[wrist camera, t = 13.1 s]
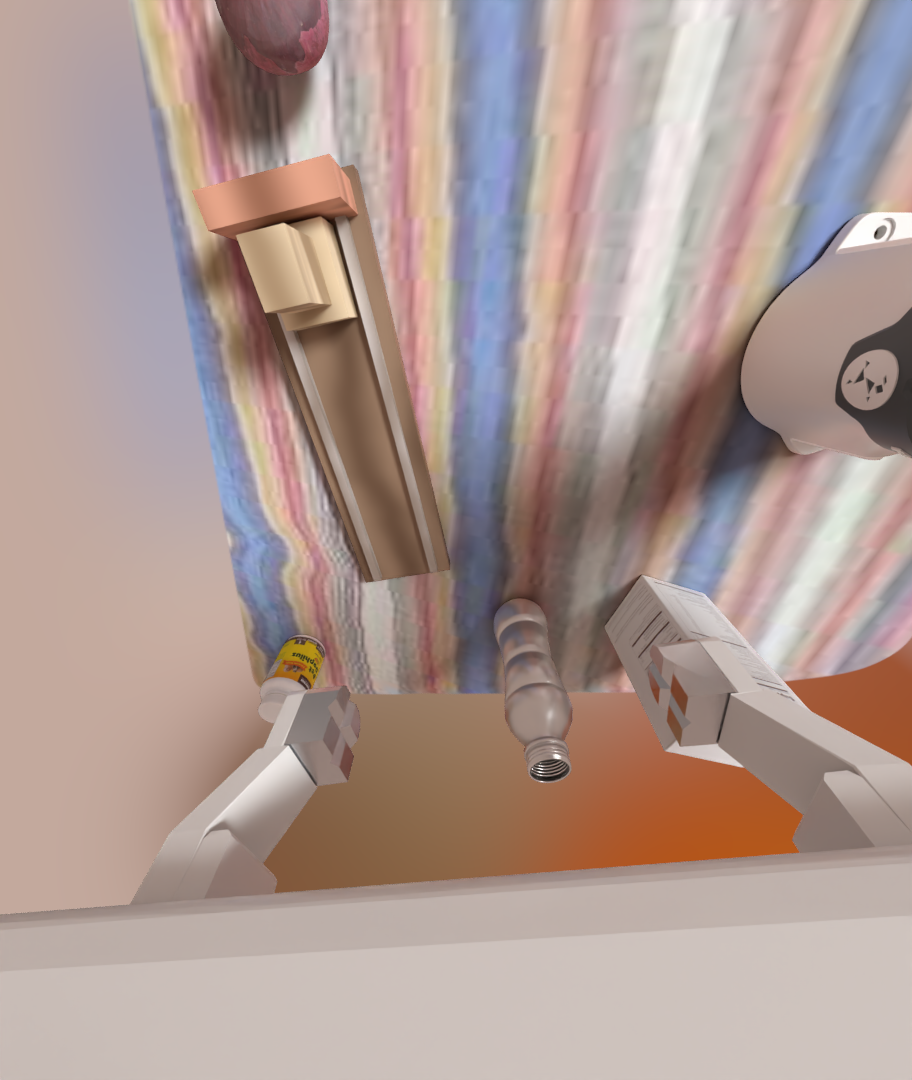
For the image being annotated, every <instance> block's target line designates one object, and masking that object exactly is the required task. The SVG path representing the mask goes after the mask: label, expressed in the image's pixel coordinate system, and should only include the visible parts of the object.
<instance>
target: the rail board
mask: <svg viewBox="0 0 912 1080" xmlns="http://www.w3.org/2000/svg"><path fill="white" fill-rule="evenodd" d="M192 192H193V194H194V197H195V199H196V201H197V204H198V206H199V209H200V211H201V214H202V216H203V219H204V221H205V224H206V226H207V229H208V231H211V232H214V233H216V234H219V235H222V236H225V237H228V238H231V239H234V240H237V237H236V235H238V234H242V233H246V232H250V231H254V230H258V229H262V228H266V227H270V226H274V225H278V224H282V223H285V224H287V225H289V224H293V223H297V222H300V221H304V220H308V219H312V218H316V217H320V216H321V217H322V218H323V219H325V220H326V221H328V222H329V223H330V224H332V225H333V227H334V231H335V234H336V238H337V242H338V245H339V249H340V253H341V256H342V260H343V264H344V267H345V271H346V275H347V278H348V282H349V286H350V289H351V293H352V297H353V300H354V304H355V308H356V311H357V315H358V317H356V318H352V319H348V320H343V321H339V322H334V323H330V324H325V325H321V326H316V327H312V328H307V329H303V330H295V331H286V328H285V325H284V322H283V320H282V317H281V314H280V313H265V311H264V313H265V316H266V318H267V321H268V323H269V326H270V329H271V331H272V334H273V337H274V339H275V342H276V345H277V347H278V350H279V353H280V355H281V358H282V361H283V363H284V366H285V369H286V371H287V374H288V377H289V379H290V382H291V384H292V387H293V390H294V392H295V395H296V398H297V400H298V403H299V406H300V408H301V411H302V414H303V416H304V419H305V422H306V424H307V427H308V430H309V432H310V435H311V438H312V440H313V443H314V446H315V448H316V451H317V453H318V456H319V459H320V461H321V464H322V467H323V469H324V472H325V475H326V477H327V480H328V483H329V485H330V488H331V491H332V493H333V496H334V499H335V501H336V504H337V507H338V509H339V512H340V514H341V517H342V520H343V522H344V525H345V528H346V530H347V533H348V536H349V538H350V541H351V544H352V546H353V549H354V552H355V554H356V557H357V560H358V562H359V565H360V568H361V570H362V573H363V576H364V578H365V581H366V583H367V582H373V581H374V582H375V581H381V580H386V579H392V578H399V577H405V576H412V575H418V574H425V573H433V572H438V571H444V570H450V560H449V556H448V552H447V547H446V543H445V539H444V535H443V530H442V526H441V522H440V518H439V513H438V509H437V505H436V501H435V497H434V492H433V488H432V484H431V480H430V475H429V471H428V467H427V463H426V458H425V454H424V450H423V446H422V441H421V437H420V433H419V429H418V424H417V420H416V416H415V412H414V407H413V403H412V399H411V395H410V390H409V386H408V382H407V378H406V373H405V369H404V365H403V361H402V356H401V352H400V348H399V344H398V339H397V335H396V331H395V327H394V322H393V318H392V314H391V310H390V306H389V301H388V297H387V293H386V289H385V284H384V280H383V276H382V272H381V267H380V263H379V259H378V255H377V250H376V246H375V242H374V238H373V233H372V229H371V225H370V221H369V216H368V212H367V208H366V204H365V199H364V195H363V191H362V187H361V182H360V178H359V174H358V171H357V169H356V168H355V167H354V165H350V166H346V167H342V168H340V167H339V165H338V164H337V163H336V162H335V160H334V159H333V158H332V157H331V155H330V154H327V155H323V156H320V157H316V158H312V159H309V160H305V161H301V162H297V163H294V164H290V165H286V166H283V167H279V168H275V169H271V170H268V171H264V172H260V173H257V174H253V175H249V176H245V177H242V178H238V179H234V180H230V181H227V182H223V183H219V184H216V185H212V186H208V187H204V188H201V189H197V190H193V191H192ZM237 241H238V240H237ZM238 244H239V242H238ZM239 247H240V245H239ZM240 249H241V248H240ZM241 252H242V250H241ZM242 254H243V253H242ZM243 257H244V256H243ZM244 260H245V258H244ZM245 262H246V261H245ZM246 265H247V264H246ZM247 268H248V266H247ZM248 270H249V269H248ZM249 273H250V272H249ZM250 276H251V274H250ZM251 278H252V277H251ZM252 281H253V280H252ZM253 284H254V282H253ZM254 286H255V285H254ZM255 289H256V288H255ZM256 292H257V290H256ZM257 294H258V293H257ZM258 297H259V296H258ZM259 300H260V298H259ZM260 302H261V301H260ZM261 305H262V304H261ZM262 308H263V306H262ZM263 310H264V309H263Z"/></svg>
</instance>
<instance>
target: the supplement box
mask: <svg viewBox="0 0 912 1080" xmlns="http://www.w3.org/2000/svg"><path fill="white" fill-rule="evenodd" d="M604 628H605V630H606V632H607V634H608V636H609V638H610V640H611V642H612V644H613V646H614V648H615V651H616V653H617V655H618V657H619V659H620V661H621V663H622V665H623V667H624V669H625V671H626V673H627V675H628V677H629V679H630V681H631V683H632V685H633V687H634V689H635V691H636V693H637V695H638V697H639V699H640V701H641V704H642V706H643V708H644V710H645V712H646V714H647V716H648V718H649V720H650V722H651V724H652V726H653V728H654V730H655V732H656V735H657V737H658V738H659V741H660V743H661V745H662V747H663V749H664V750H665V751H667V752H672V753H677V754H682V755H687V756H691V757H696V758H701V759H705V760H710V761H715V762H720V763H724V764H729V765H734V766H738V767H743V766H742V765H741V764H740V763H738V762H737V761H736V760H735V759H733V758H732V757H731V756H730V755H728V754H727V753H726V752H725V751H724V750H722V749H721V748H720V747H719V746H718V744H711V745H698V746H685V747H680V746H679V744H678V742H677V740H676V738H675V736H674V734H673V732H672V731H671V729H670V727H669V725H668V723H667V714H668V711H666V710H665V709H663V708H662V707H660V706H659V705H658V704H657V702H656V700H655V698H654V695H653V693H652V690H651V687H650V682H649V667H650V666H651V665H652V664H653V663H654V662H653V660H652V658H651V657H650V650H651V647H652V645H655V644H662V643H669V642H676V641H683V640H690V639H692V640H694V639H699V638H707V637H714V636H716V637H718V638H719V639H721V640H722V642H723V643H724V644H725V645H726V647H727V648H728V649H729V650H730V651H731V653H732V654H733V655H734V656H735V657H736V659H737V660H738V661H739V662H740V663H741V665H742V666H743V667H744V668H745V669H746V671H747V672H748V673H749V674H750V675H751V677H752V678H753V679H754V680H755V681H756V683H757V684H758V685H759V686H760V688H761V689H762V690H768V689H770V690H772V691H773V692H775V693H777V694H779V695H781V696H783V697H785V698H787V699H789V700H790V701H792V702H794V703H796V704H798V705H800V706H802V707H804V708H805V709H807V710H809V709H808V708H807V707H806V706H805V705H804V704H803V703H802V701H801V700H800V699H799V698H798V697H797V696H796V695H795V694H794V693H793V691H792V690H791V689H790V688H789V687H788V686H787V685H786V684H785V682H784V681H783V680H782V679H781V678H780V677H779V676H778V675H777V674H776V673H775V671H774V670H773V669H772V668H771V667H770V666H769V665H768V664H767V663H766V662H765V661H764V660H763V659H762V657H761V656H760V655H759V654H758V653H757V652H756V651H755V650H754V649H753V648H752V647H751V646H750V644H749V643H748V642H747V641H746V639H745V638H744V637H743V636H742V635H741V634H740V633H739V632H738V630H737V629H736V628H735V627H734V626H733V625H732V624H731V623H730V622H729V620H728V619H727V618H726V617H725V616H724V615H723V614H722V613H721V612H720V611H719V609H718V608H717V607H716V606H715V605H714V604H713V603H712V602H711V601H710V600H709V598H708V597H707V596H706V595H705V594H704V593H701V592H698V591H694V590H691V589H688V588H685V587H681V586H678V585H674V584H671V583H668V582H664V581H661V580H658V579H654V578H651V577H648V576H644V575H641V576H640V578H639V579H638V580H637V582H636V583H635V585H634V586H633V587H632V589H631V590H630V592H629V593H628V594H627V596H626V597H625V599H624V600H623V601H622V603H621V604H620V606H619V607H618V609H617V610H616V611H615V613H614V614H613V615H612V617H611V618H610V620H609V621H608V622H607V624H606V625H605V627H604ZM809 711H810V710H809Z"/></svg>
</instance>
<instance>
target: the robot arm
mask: <svg viewBox="0 0 912 1080" xmlns="http://www.w3.org/2000/svg"><path fill="white" fill-rule="evenodd" d="M876 229H878V233H877V235H876V237H875V238H874V233H875V231H876ZM741 390H742V395H743V399H744V402H745V404H746V406H747V408H748V410H749V412H750V413H751V414H752V416H753V417H754V418H755V419H756V420H757V421H759V422H760V423H761V424H763V425H764V426H766V427H768V428H770V429H772V430H774V431H776V432H778V433H779V434H780V435H781V437H782V439H783V441H784V443H785V444H786V446H787V447H788V449H789V450H790V451H791V452H793V453H797V454H801V455H808V454H811V453H814V452H817V451H820V450H823V449H828V450H832V451H836V452H840V453H843V454H847V455H851V456H855V457H859V458H863V459H868V460H880V459H882V458H883V457H885V456H890V455H894V454H901V455H902V456H905V457H908V458H911V459H912V213H899V212H874V213H865V214H860V215H858V216H856V217H854V218H853V219H851V220H850V221H849V222H848V223H847V224H846V225H845V226H844V227H843V228H842V230H841V231H840V232H839V233H838V235H837V236H836V237H835V239H834V240H833V241H832V243H831V244H830V246H829V247H828V248H827V250H826V251H825V253H824V254H823V256H822V257H821V258H820V259H819V260H818V261H817V262H816V263H815V264H814V265H813V266H812V267H811V268H809V269H808V270H807V271H806V272H804V273H803V274H802V275H801V276H800V277H798V278H797V279H796V280H795V281H794V282H792V283H791V284H790V285H789V286H788V287H787V288H786V289H785V290H784V291H783V292H782V293H781V294H780V295H779V296H778V297H777V299H776V300H775V301H774V302H773V303H772V305H771V306H770V307H769V308H768V310H767V311H766V313H765V314H764V315H763V317H762V318H761V320H760V322H759V323H758V325H757V327H756V329H755V331H754V332H753V334H752V337H751V339H750V341H749V344H748V346H747V349H746V352H745V355H744V359H743V364H742V370H741ZM650 657H651V658H652V660H653V662H654V663H653V664H652V665H651V666H650V667H649V682H650V687H651V690H652V693H653V695H654V698H655V700H656V702H657V704H658V705H659V706H660V707H662V708H663V709H665V710H666V711H668V714H667V723H668V725H669V727H670V729H671V731H672V732H673V734H674V736H675V738H676V740H677V742H678V744H679V746H680V747H685V746H698V745H711V744H718V746H719V747H720V748H721V749H722V750H724V751H725V752H726V753H727V754H728V755H730V756H731V757H732V758H733V759H735V760H736V761H737V762H738V763H740V764H741V765H742V766H743V767H745V768H746V769H747V770H748V771H750V772H751V773H752V774H753V775H755V776H756V777H757V778H758V779H760V780H761V781H762V782H763V783H764V784H766V785H767V786H768V787H770V788H771V789H772V790H773V791H774V792H776V793H777V794H778V795H779V796H781V797H782V798H783V799H784V800H785V801H787V802H788V803H789V804H791V805H792V806H793V807H794V808H795V809H797V810H798V811H799V812H800V813H802V814H803V818H802V819H801V822H800V824H799V826H798V827H797V830H796V832H795V834H794V837H793V842H794V844H795V845H796V847H797V848H798V850H799V852H800V853H792V854H779V855H766V856H753V857H740V858H727V859H715V860H703V861H702V860H701V861H688V862H675V863H663V864H649V865H636V866H623V867H610V868H598V869H584V870H572V871H558V872H545V873H532V874H519V875H506V876H494V877H480V878H467V879H454V880H441V881H429V882H415V883H402V884H389V885H376V886H363V887H350V888H338V889H325V890H313V891H300V892H286V893H274V891H275V887H276V884H277V880H276V878H275V876H274V875H273V874H272V873H271V872H270V871H269V870H268V869H267V868H266V867H265V866H264V865H263V862H264V861H265V860H266V858H267V857H268V855H269V854H270V853H271V851H272V850H273V849H274V847H275V846H276V844H277V843H278V842H279V840H280V839H281V837H282V836H283V835H284V833H285V832H286V830H287V829H288V828H289V826H290V825H291V824H292V822H293V821H294V819H295V818H296V817H297V815H298V814H299V812H300V811H301V810H302V808H303V807H304V805H305V804H306V803H307V801H308V800H309V798H310V797H311V796H312V794H313V793H314V792H315V790H316V789H317V787H316V786H320V785H328V784H335V783H342V782H348V779H349V775H350V771H351V766H352V762H353V758H354V755H353V753H352V751H351V747H352V746H353V745H354V744H355V742H357V740H358V737H359V732H360V715H359V710H358V708H357V706H356V704H354V703H353V702H351V701H349V697H350V692H349V690H348V688H347V686H336V687H326V688H316V689H308V690H299V691H292V692H291V693H290V694H289V695H288V696H287V697H286V699H285V701H284V704H283V706H282V708H281V710H280V712H279V715H278V717H277V719H276V721H275V723H274V726H273V728H272V730H271V732H270V734H269V737H268V739H267V741H266V743H265V745H264V748H261V749H257V750H256V751H255V752H254V753H253V754H252V755H251V756H250V757H249V758H248V759H247V760H246V761H245V762H244V763H243V764H242V765H241V766H240V767H238V768H237V769H236V770H235V771H234V772H233V773H232V774H231V775H230V776H229V777H228V778H227V779H226V780H225V781H224V782H223V783H222V784H221V785H220V786H219V787H218V788H216V789H215V790H214V791H213V792H212V793H211V794H210V795H209V796H208V797H207V798H206V799H205V800H204V801H203V802H202V803H201V804H200V805H199V806H198V807H197V808H196V809H195V810H193V811H192V812H191V814H189V815H188V816H187V817H186V818H185V819H184V820H183V821H182V822H181V823H180V824H179V825H178V826H177V827H176V828H175V829H174V830H173V831H171V833H170V834H169V836H168V837H167V839H166V841H165V843H164V845H163V846H162V848H161V850H160V852H159V853H158V855H157V857H156V859H155V861H154V862H153V864H152V866H151V868H150V869H149V872H148V873H147V875H146V877H145V878H144V880H143V882H142V884H141V885H140V887H139V889H138V891H137V893H136V894H135V896H134V898H133V900H132V902H131V903H130V905H118V906H105V907H94V908H80V909H67V910H54V911H41V912H28V913H16V914H1V915H0V1080H912V767H911V766H910V765H909V764H908V763H907V762H905V761H903V760H901V759H899V758H897V757H895V756H894V755H892V754H890V753H888V752H886V751H884V750H882V749H881V748H879V747H877V746H875V745H873V744H871V743H869V742H867V741H866V740H864V739H862V738H860V737H858V736H856V735H854V734H852V733H851V732H849V731H847V730H845V729H843V728H841V727H839V726H837V725H836V724H833V723H832V722H830V721H828V720H826V719H824V718H822V717H820V716H819V715H817V714H815V713H813V712H811V711H809V710H807V709H805V708H804V707H802V706H800V705H798V704H796V703H794V702H792V701H790V700H789V699H787V698H785V697H783V696H781V695H779V694H777V693H775V692H773V691H772V690H770V689H768V690H762V689H761V688H760V686H759V685H758V684H757V683H756V681H755V680H754V679H753V678H752V677H751V675H750V674H749V673H748V672H747V671H746V669H745V668H744V667H743V666H742V665H741V663H740V662H739V661H738V660H737V659H736V657H735V656H734V655H733V654H732V653H731V651H730V650H729V649H728V648H727V647H726V645H725V644H724V643H723V642H722V640H721V639H719V638H718V637H716V636H714V637H707V638H699V639H694V640H692V639H690V640H683V641H676V642H669V643H662V644H655V645H652V647H651V650H650Z"/></svg>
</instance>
